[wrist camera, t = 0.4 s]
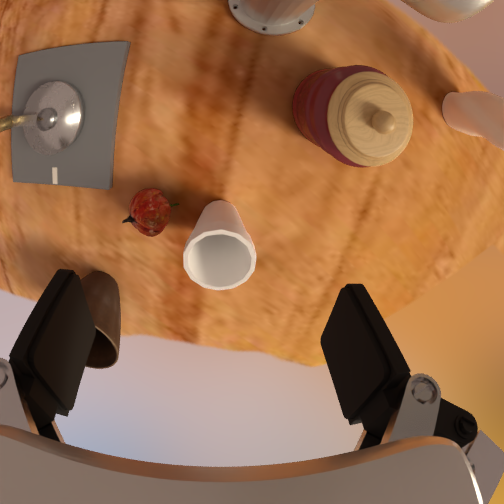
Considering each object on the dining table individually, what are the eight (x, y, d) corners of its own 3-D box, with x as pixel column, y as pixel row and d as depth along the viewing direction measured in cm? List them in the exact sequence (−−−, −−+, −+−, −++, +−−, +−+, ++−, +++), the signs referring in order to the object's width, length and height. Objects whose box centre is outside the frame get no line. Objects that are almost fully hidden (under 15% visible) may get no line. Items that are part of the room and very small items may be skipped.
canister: (288, 145, 41) (326, 181, 26) (290, 65, 34) (334, 51, 19) (363, 149, 42) (426, 187, 27) (369, 76, 35) (440, 80, 20)
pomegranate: (172, 175, 44) (115, 184, 38) (194, 196, 41) (131, 208, 34) (167, 213, 48) (115, 224, 42) (187, 236, 45) (131, 251, 38)
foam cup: (193, 189, 43) (183, 227, 33) (250, 192, 45) (260, 231, 34) (192, 240, 49) (184, 289, 38) (244, 243, 50) (251, 291, 39)
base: (22, 55, 25) (16, 55, 23) (130, 42, 29) (127, 41, 28) (16, 179, 37) (11, 182, 36) (112, 186, 41) (108, 190, 40)
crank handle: (89, 78, 30) (59, 79, 22) (82, 152, 36) (54, 170, 28) (16, 87, 26) (-18, 93, 19) (13, 151, 33) (-18, 168, 25)
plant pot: (147, 280, 52) (130, 343, 39) (122, 320, 58) (105, 378, 45) (83, 242, 46) (47, 298, 33) (66, 289, 52) (39, 343, 39)
